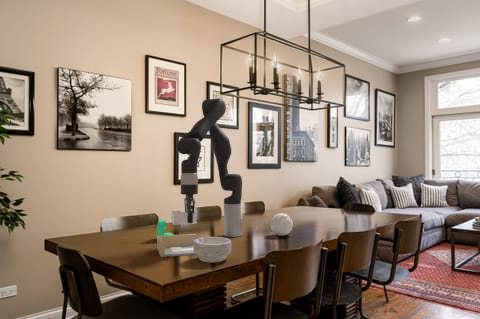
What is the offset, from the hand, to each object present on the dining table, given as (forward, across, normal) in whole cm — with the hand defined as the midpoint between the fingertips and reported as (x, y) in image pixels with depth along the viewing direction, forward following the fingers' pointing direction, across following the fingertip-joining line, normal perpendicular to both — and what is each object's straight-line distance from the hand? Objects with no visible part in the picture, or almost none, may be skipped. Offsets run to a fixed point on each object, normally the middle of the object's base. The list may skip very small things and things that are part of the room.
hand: (189, 222), depth 164 cm
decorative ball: (+13, +21, -54) cm, 59 cm away
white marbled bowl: (+13, -17, -6) cm, 22 cm away
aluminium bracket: (0, +2, +2) cm, 3 cm away
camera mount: (+13, +30, +6) cm, 33 cm away
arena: (+13, +2, +4) cm, 14 cm away
